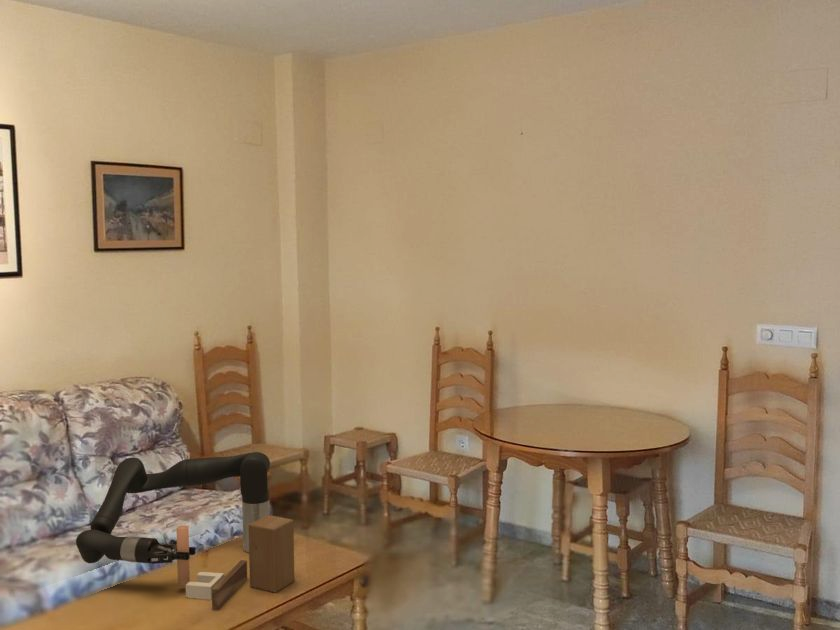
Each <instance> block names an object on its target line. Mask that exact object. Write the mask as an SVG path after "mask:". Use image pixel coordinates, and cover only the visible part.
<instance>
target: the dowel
mask: <svg viewBox="0 0 840 630" xmlns="http://www.w3.org/2000/svg"><path fill="white" fill-rule="evenodd" d="M189 533H190V531H189V526H188V525H180V526H177V527H176V541H177V552H189V547H190V544H189V543H190V539H189V538H190V534H189ZM176 561H177V564H176V565H177V566H176V567H177V587H179V588H186V584H187V583H188V582H191V580H190V578H191V577H190V576H191V575H190V574H191V573H190V572H191V571H190V559H189V560H179V559H177V560H176Z"/></svg>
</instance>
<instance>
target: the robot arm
mask: <svg viewBox="0 0 840 630" xmlns="http://www.w3.org/2000/svg"><path fill="white" fill-rule="evenodd" d="M270 467H271V460H270V459H269V457H268V456H267V455H266V454H265V453H262V452H260V451H254V452H252V451H251V452H248V453H242V454H237V455H231V456H213V457H210V456H209V457H197V458H187V459H181V460H180V461H178V462H175V463H174V464H173V465H172V466H170V467H169V468H166V470H164V471H160V472H154V473H147V471H146V469H145V465H144V463H143V461H142V460H141V459H140V458H138V457H128V458H125V459H123V460H122V461H121V462H119V463H118V465H117V467H116V469H115V471H114V475H113V477H112V480H111V481H110V485H109V488H108V490H107V493H106V495H105V498H104V499H103V502H102V503H101V505H100V507H99V509H98V510H97V512H96V514H95V515H94V517H93V520H91V524H90V529H86V530H84V531H81V532H80V533H79V534H78V535H77V537H76V539H75V545H76V547H77V550H78V552H79V554H80V557H81V559H82V560H83V561H84V562H85V563H87V564H95V563H97V562H98V561H100V560H101V559H102V558H104V556H105V557H106V558H107V559H109V560H112V561H123V562H130V563H139V564H153V565H154V564H169V563H173V561H177V559H179V560H189V561H190V559H191V557H190V556H195V555H196V552H197V551H196V547H194V546H189V552H177V540H175V539H174V540H173V539H171V540H170V542H169V543H167V542H162V543H160V542H159V540H158V539H157V538H155V537H146V536H145V537H142V536H115V535H113V534H112V532H113V530H114V529H115V528H116V526H117V523H118V521H119V520H120V517H121V515H122V512H123V508H124V504H125V498H126V495H127V494H130V495H131V494H140V493H141V494H142V493H147V492H150V491H157V490H162V489H169V488H170V489H171V488H179V487H195V486H203V485H208V484H212V483H215V482H218V481H222V480H224V479H229V478H236V477H239V482H240V483H239V485H240V496H241V507H242V508H241V510H242V515H241V516H242V549H243V551H244V552H246V553H249V524H251V523H253V522H255V521H257V520H259V519H261V518H263V517H265V516H267V515H270V492H269V487H268V472H269V470H270Z"/></svg>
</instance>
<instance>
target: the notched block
mask: <svg viewBox="0 0 840 630" xmlns="http://www.w3.org/2000/svg"><path fill="white" fill-rule="evenodd" d="M195 576H196V581H190V582H188V583H187V584H186V587H185V598H186V597H188V598H187V599H193V598H196V599H195V600H209V601H212V589H213V588H214V587H215V586H216V585H217V584H218V583H219V582H220V581H221V580H222V579H223V578H224V577H225V573H223V572H210V571H209V572H207V571H199V572H198V573H197V574H196V575H195Z"/></svg>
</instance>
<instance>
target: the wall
mask: <svg viewBox="0 0 840 630" xmlns="http://www.w3.org/2000/svg"><path fill="white" fill-rule="evenodd" d="M247 580H248V561H247V560H243V559H240V561H238V562H237V564H235V566H233V567H232V569H231V570H229V572H227V574H226V575H224V578H223V579H222V580H221V581H220V582H219V583H218V584H217V585H216V586H215V587H214V588H213V589H212V600H211V606H212V607H211V608H212V609H211V610H215V611H219V610H220V609H222V607H223V606H224V605H225V604H226V603H227V602H228V601H229V599H230V598H231V597H232V596H233V595H234V594H235V593H236V592H237V591H238V590H239V589H240V588H241V586H242V585H243V584H244V583H245V582H246V581H247ZM238 588H239V589H238ZM237 589H238V590H237ZM236 590H237V591H236ZM235 591H236V592H235Z"/></svg>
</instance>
